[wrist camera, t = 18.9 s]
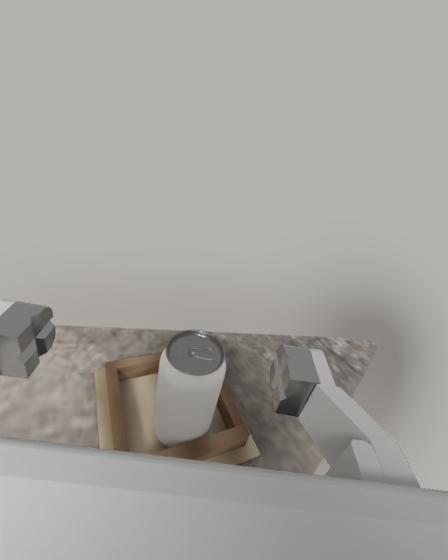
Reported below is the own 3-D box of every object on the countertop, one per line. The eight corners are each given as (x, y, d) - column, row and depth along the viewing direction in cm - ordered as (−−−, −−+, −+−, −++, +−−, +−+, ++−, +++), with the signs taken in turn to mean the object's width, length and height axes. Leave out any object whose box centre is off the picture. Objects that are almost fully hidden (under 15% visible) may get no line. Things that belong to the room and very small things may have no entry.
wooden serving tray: (104, 517, 25) (103, 501, 24) (94, 373, 37) (92, 356, 35) (258, 456, 32) (266, 441, 30) (208, 351, 44) (211, 336, 42)
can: (157, 396, 35) (165, 323, 29) (209, 400, 36) (228, 330, 30) (147, 450, 30) (155, 375, 24) (209, 454, 31) (231, 382, 24)
